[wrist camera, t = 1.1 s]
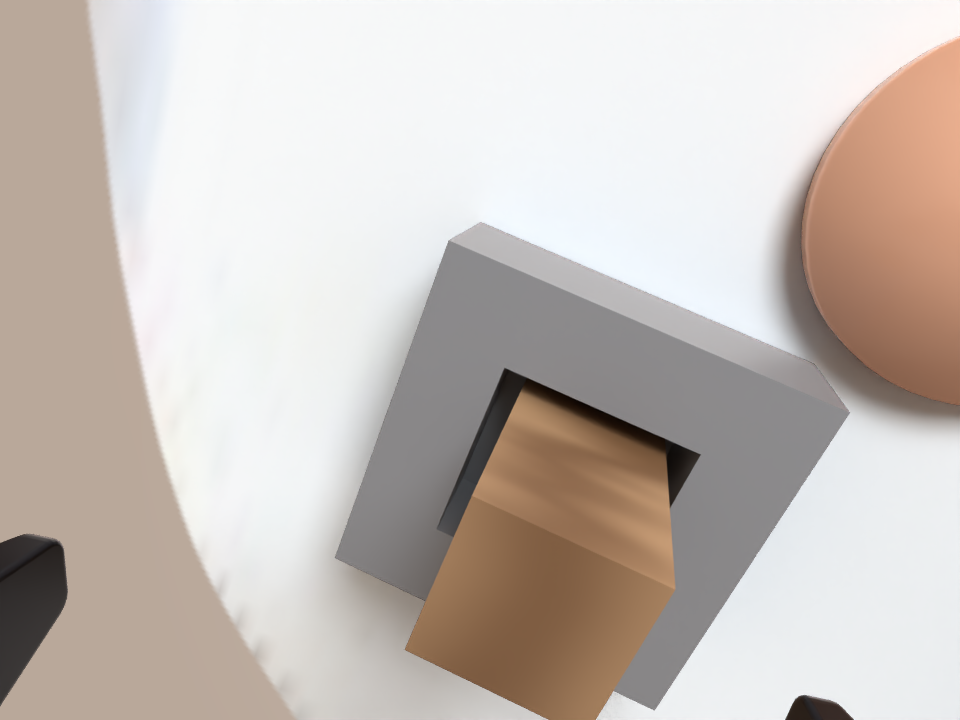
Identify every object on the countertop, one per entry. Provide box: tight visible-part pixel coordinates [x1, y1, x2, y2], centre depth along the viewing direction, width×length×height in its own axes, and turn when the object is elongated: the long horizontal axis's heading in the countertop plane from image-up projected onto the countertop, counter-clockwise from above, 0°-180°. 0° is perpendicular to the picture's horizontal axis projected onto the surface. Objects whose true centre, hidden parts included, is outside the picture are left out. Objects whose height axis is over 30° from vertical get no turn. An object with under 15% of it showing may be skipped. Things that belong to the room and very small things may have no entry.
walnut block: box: [405, 378, 675, 720], centre depth 17 cm, size 4×4×8 cm
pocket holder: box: [335, 222, 850, 710], centre depth 20 cm, size 10×10×4 cm
